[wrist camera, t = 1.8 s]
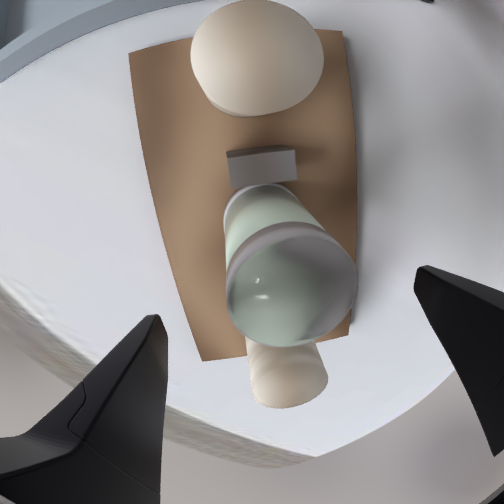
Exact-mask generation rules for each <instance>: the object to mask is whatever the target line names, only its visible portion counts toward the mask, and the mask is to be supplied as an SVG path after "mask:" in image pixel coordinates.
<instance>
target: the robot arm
mask: <svg viewBox="0 0 504 504" xmlns="http://www.w3.org/2000/svg"><path fill="white" fill-rule="evenodd" d="M423 1H425V2H428V3H431V2H433V1H434V0H423ZM414 292H415V294H416V296H417V298H418V300H419V302H420V304H421V306H422V308H423V310H424V312H425V315H426V317H427V319H428V321H429V323H430V325H431V326H432V328H433V330H434V332H435V333H436V335H437V337H438V338H439V340H440V342H441V344H442V345H443V347H444V349H445V351H446V353H447V354H448V356H449V358H450V360H451V362H452V364H453V366H454V367H455V369H456V371H457V373H458V375H459V377H460V379H461V381H462V383H463V385H464V387H465V389H466V391H467V393H468V396H469V398H470V399H471V402H472V404H473V406H474V409H475V411H476V414H477V416H478V418H479V421H480V423H481V425H482V428H483V430H484V433H485V436H486V438H487V441H488V443H489V446H490V449H491V452H492V454H493V456H494V457H495V456H496V455H497V454H499V453H500V452H501V451H502V450H504V292H502V291H499V290H496V289H494V288H491V287H488V286H486V285H483V284H480V283H477V282H475V281H472V280H469V279H466V278H464V277H461V276H458V275H455V274H452V273H449V272H446V271H444V270H441V269H438V268H435V267H432V266H429V265H425V266H421V267H419V268H418V269H417V272H416V277H415V282H414ZM167 383H168V336H167V332H166V330H165V327H164V325H163V322H162V320H161V318H160V316H159V315H158V314H154V315H147V316H146V317H144V318H143V319H142V320H141V321H140V322H139V323H138V324H137V325H136V326H135V327H134V328H133V329H132V330H131V331H130V332H129V333H128V334H127V335H126V336H125V337H124V338H123V339H122V340H121V341H120V342H119V343H118V344H117V345H116V346H115V347H114V348H113V349H112V350H111V351H110V352H109V353H108V354H107V355H106V356H105V357H104V358H103V359H102V361H101V362H100V363H99V364H98V365H97V366H96V367H95V368H94V369H93V370H92V371H91V372H90V373H89V374H88V375H87V376H86V377H85V378H84V379H83V381H81V382H80V383H79V384H78V385H77V386H76V387H75V388H74V389H73V390H72V391H71V392H70V393H69V394H68V395H67V396H66V397H65V398H64V399H63V400H62V401H61V402H60V403H59V404H58V405H57V406H56V407H55V408H54V409H52V410H51V411H50V412H49V413H48V414H47V415H46V416H44V417H43V418H42V419H41V420H40V421H39V422H38V423H37V424H35V425H34V426H33V427H32V428H31V429H30V430H28V431H27V432H25V433H24V434H21V435H19V436H15V437H5V438H0V504H160V482H161V480H160V479H161V457H162V440H163V427H164V414H165V403H166V393H167ZM480 504H504V484H503V485H502V486H501V487H499V488H498V489H497V490H496V491H495V492H494V493H492V494H491V495H490V496H489V497H487V498H486V499H485V500H483V501H482V502H481V503H480Z"/></svg>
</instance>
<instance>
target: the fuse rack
mask: <svg viewBox="0 0 504 504" xmlns="http://www.w3.org/2000/svg"><path fill="white" fill-rule="evenodd" d="M129 63H130V72H131V81H132V88H133V96H134V103H135V109H136V116H137V122H138V128H139V134H140V139H141V145H142V150H143V155H144V160H145V165H146V170H147V175H148V180H149V184H150V189H151V193H152V197H153V202H154V206H155V210H156V214H157V218H158V222H159V226H160V230H161V234H162V237H163V241H164V245H165V248H166V252H167V256H168V259H169V263H170V266H171V269H172V273H173V276H174V280H175V283H176V286H177V289H178V292H179V296H180V299H181V302H182V305H183V308H184V311H185V314H186V317H187V320H188V323H189V326H190V329H191V332H192V335H193V337H194V340H195V343H196V346H197V348H198V351H199V354H200V357H201V359H202V361H211V360H219V359H227V358H234V357H241V356H248V363H249V371H250V378H251V386H252V393H253V397H254V399H255V400H256V401H257V402H258V403H259V404H261V405H263V406H266V407H270V408H290V407H295V406H298V405H301V404H304V403H306V402H308V401H310V400H312V399H314V398H315V397H317V396H318V395H319V394H320V393H321V392H322V391H323V390H324V389H325V387H326V385H327V383H328V375H327V372H326V370H325V367H324V364H323V362H322V359H321V357H320V354H319V352H318V349H317V347H316V344H315V343H317V342H322V341H326V340H330V339H335V338H339V337H343V336H347V335H348V333H349V325H350V316H351V309H350V310H349V312H348V314H347V315H346V316H345V317H344V319H343V320H342V321H341V322H340V323H339V324H338V325H337V326H336V327H335V328H334V329H332V330H331V331H330V332H328V333H327V334H325V335H324V336H322V337H320V338H318V339H316V340H314V341H311V342H309V343H306V344H302V345H298V346H292V347H272V346H266V345H262V344H259V343H257V342H254V341H252V340H250V339H249V338H247V337H246V336H244V335H243V334H242V333H241V332H240V331H239V330H238V329H237V328H236V327H235V325H234V324H233V322H232V320H231V318H230V316H229V313H228V309H227V300H226V273H227V271H226V250H225V233H224V224H223V215H224V209H225V206H226V204H227V201H228V200H229V198H230V197H231V195H232V194H233V193H234V192H235V191H236V190H237V189H238V188H240V187H247V186H254V185H261V184H268V183H276V182H277V183H280V184H282V185H283V186H285V187H286V188H288V189H289V190H290V191H291V192H292V193H293V194H294V195H295V196H296V197H297V199H298V200H299V201H300V203H301V204H302V205H303V206H304V207H305V208H306V209H307V211H308V212H309V213H310V214H311V215H312V216H313V217H314V218H315V219H316V220H317V222H318V223H319V224H320V225H321V226H322V227H323V228H324V229H325V230H326V231H327V232H328V233H329V234H330V235H331V236H332V237H333V238H334V239H335V240H336V241H337V242H338V243H339V244H340V245H341V246H342V248H343V249H344V250H345V251H346V252H347V253H348V255H349V256H350V257H351V259H352V261H353V263H354V265H355V255H356V232H357V168H356V145H355V129H354V116H353V105H352V96H351V87H350V79H349V71H348V64H347V58H346V51H345V45H344V40H343V34H342V31H333V30H319V29H314V28H313V27H312V26H311V24H310V23H309V22H308V21H307V20H306V19H305V18H304V17H303V16H301V15H300V14H299V13H297V12H296V11H294V10H293V9H291V8H289V7H287V6H285V5H282V4H279V3H276V2H272V1H267V0H243V1H238V2H234V3H231V4H228V5H226V6H224V7H222V8H220V9H218V10H216V11H215V12H213V13H212V14H211V15H210V16H208V17H207V18H206V19H205V20H204V21H203V23H202V24H201V25H200V27H199V28H198V30H197V31H196V33H195V36H194V37H193V38H187V39H182V40H178V41H173V42H169V43H164V44H160V45H156V46H152V47H149V48H145V49H142V50H138V51H135V52H132V53H129Z"/></svg>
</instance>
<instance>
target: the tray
mask: <svg viewBox="0 0 504 504" xmlns="http://www.w3.org/2000/svg"><path fill="white" fill-rule="evenodd" d="M195 1H201V0H0V83H1V82H2V81H4V80H5V79H7V78H8V77H9V76H11V75H12V74H14V73H15V72H17V71H18V70H20V69H21V68H23V67H24V66H26V65H28V64H29V63H31V62H33V61H34V60H36V59H38V58H39V57H41V56H43V55H45V54H46V53H48V52H50V51H52V50H54V49H56V48H57V47H59V46H61V45H63V44H65V43H67V42H69V41H72V40H74V39H76V38H78V37H80V36H82V35H85V34H87V33H89V32H92V31H94V30H96V29H99V28H101V27H104V26H107V25H109V24H112V23H115V22H118V21H120V20H123V19H126V18H130V17H133V16H136V15H139V14H143V13H146V12H150V11H153V10H157V9H161V8H165V7H170V6H174V5H179V4H184V3H189V2H195Z"/></svg>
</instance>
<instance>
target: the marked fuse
mask: <svg viewBox="0 0 504 504" xmlns="http://www.w3.org/2000/svg"><path fill="white" fill-rule="evenodd" d="M223 224H224V233H225V250H226V271H227V273H226V300H227V309H228V313H229V316H230V318H231V320H232V322H233V324H234V325H235V327H236V328H237V329H238V330H239V331H240V332H241V333H242V334H243V335H244V336H246V337H247V338H249V339H250V340H252V341H254V342H257V343H259V344H262V345H266V346H272V347H292V346H298V345H302V344H306V343H309V342H311V341H314V340H316V339H318V338H320V337H322V336H324V335H325V334H327V333H328V332H330V331H331V330H332V329H334V328H335V327H336V326H337V325H338V324H339V323H340V322H341V321H342V320H343V319H344V317H345V316H346V315H347V314H348V312H349V310H350V309H351V307H352V305H353V303H354V300H355V297H356V294H357V288H358V276H357V271H356V267H355V265H354V263H353V261H352V259H351V257H350V256H349V255H348V253H347V252H346V251H345V250H344V249H343V248H342V246H341V245H340V244H339V243H338V242H337V241H336V240H335V239H334V238H333V237H332V236H331V235H330V234H329V233H328V232H327V231H326V230H325V229H324V228H323V227H322V226H321V225H320V224H319V223H318V222H317V220H316V219H315V218H314V217H313V216H312V215H311V214H310V213H309V212H308V211H307V209H306V208H305V207H304V206H303V205H302V204H301V203H300V201H299V200H298V199H297V197H296V196H295V195H294V194H293V193H292V192H291V191H290V190H289V189H288V188H286V187H285V186H283V185H282V184H280V183H277V182H276V183H268V184H261V185H254V186H247V187H240V188H238V189H237V190H236V191H235V192H234V193H233V194H232V195H231V197H230V198H229V200H228V201H227V204H226V206H225V209H224V215H223Z"/></svg>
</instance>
